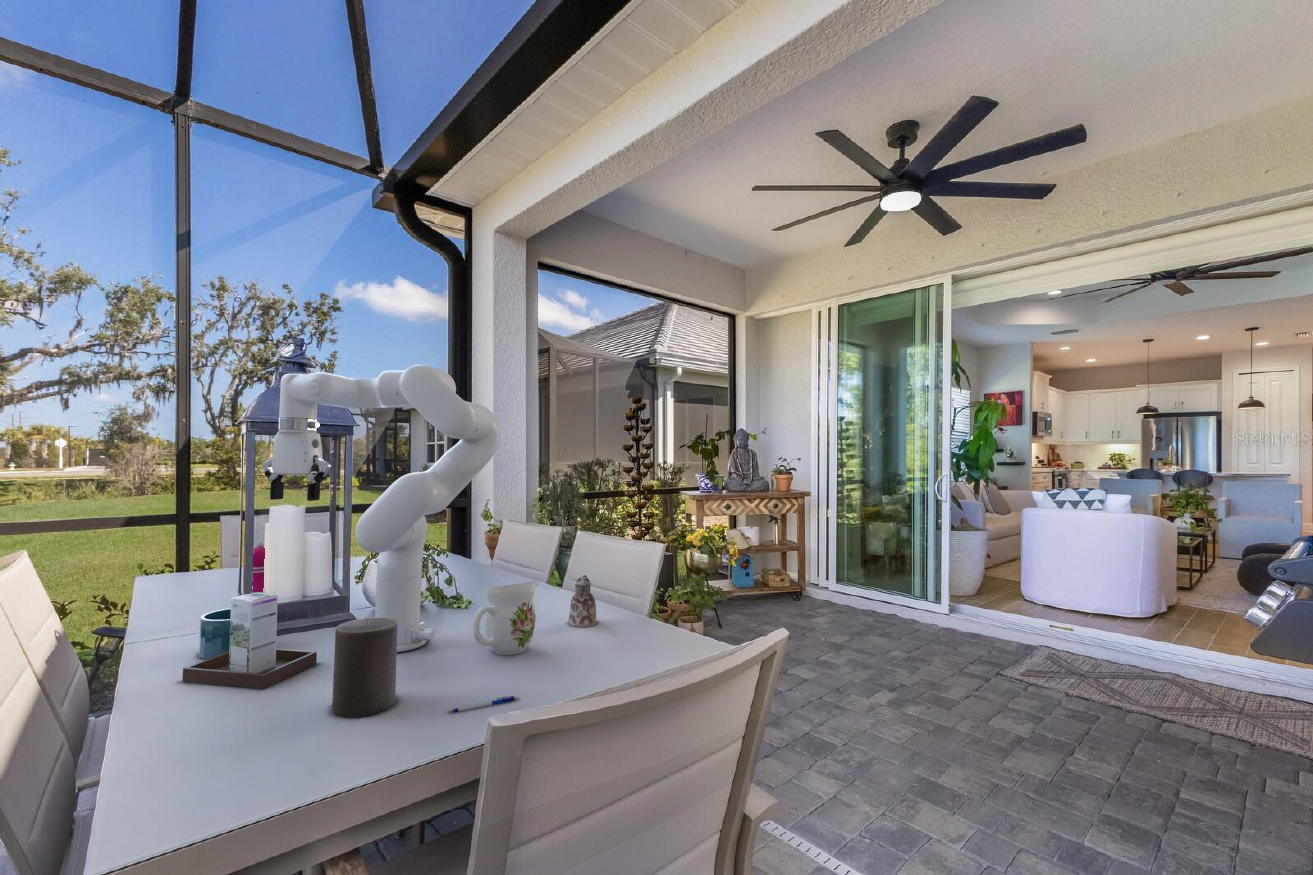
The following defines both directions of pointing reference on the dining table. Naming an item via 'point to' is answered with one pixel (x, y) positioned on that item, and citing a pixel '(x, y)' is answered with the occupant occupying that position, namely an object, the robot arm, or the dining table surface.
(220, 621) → the cup
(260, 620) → the syrup box
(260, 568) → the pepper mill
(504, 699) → the ballpoint pen
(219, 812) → the dining table surface
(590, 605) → the figurine
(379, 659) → the pillar candle
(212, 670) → the tray
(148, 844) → the dining table surface
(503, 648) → the pitcher
